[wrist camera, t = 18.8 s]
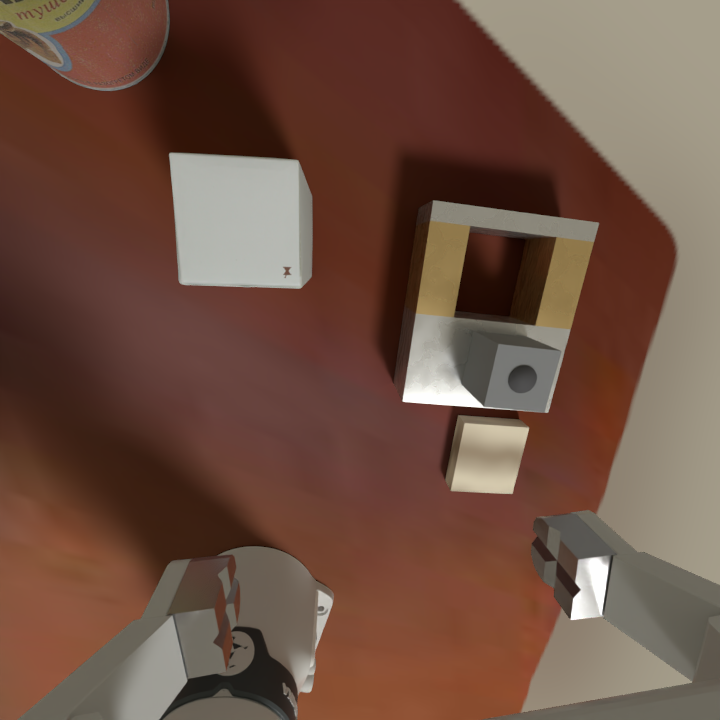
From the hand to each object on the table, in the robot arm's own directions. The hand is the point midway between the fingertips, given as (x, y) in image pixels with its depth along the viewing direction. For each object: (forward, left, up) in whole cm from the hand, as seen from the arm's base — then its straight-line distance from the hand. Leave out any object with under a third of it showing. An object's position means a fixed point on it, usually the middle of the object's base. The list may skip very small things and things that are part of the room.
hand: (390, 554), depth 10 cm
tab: (-11, -16, -28) cm, 34 cm away
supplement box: (+9, +8, -28) cm, 30 cm away
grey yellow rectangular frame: (+4, -12, -28) cm, 30 cm away
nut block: (0, -13, -23) cm, 26 cm away
